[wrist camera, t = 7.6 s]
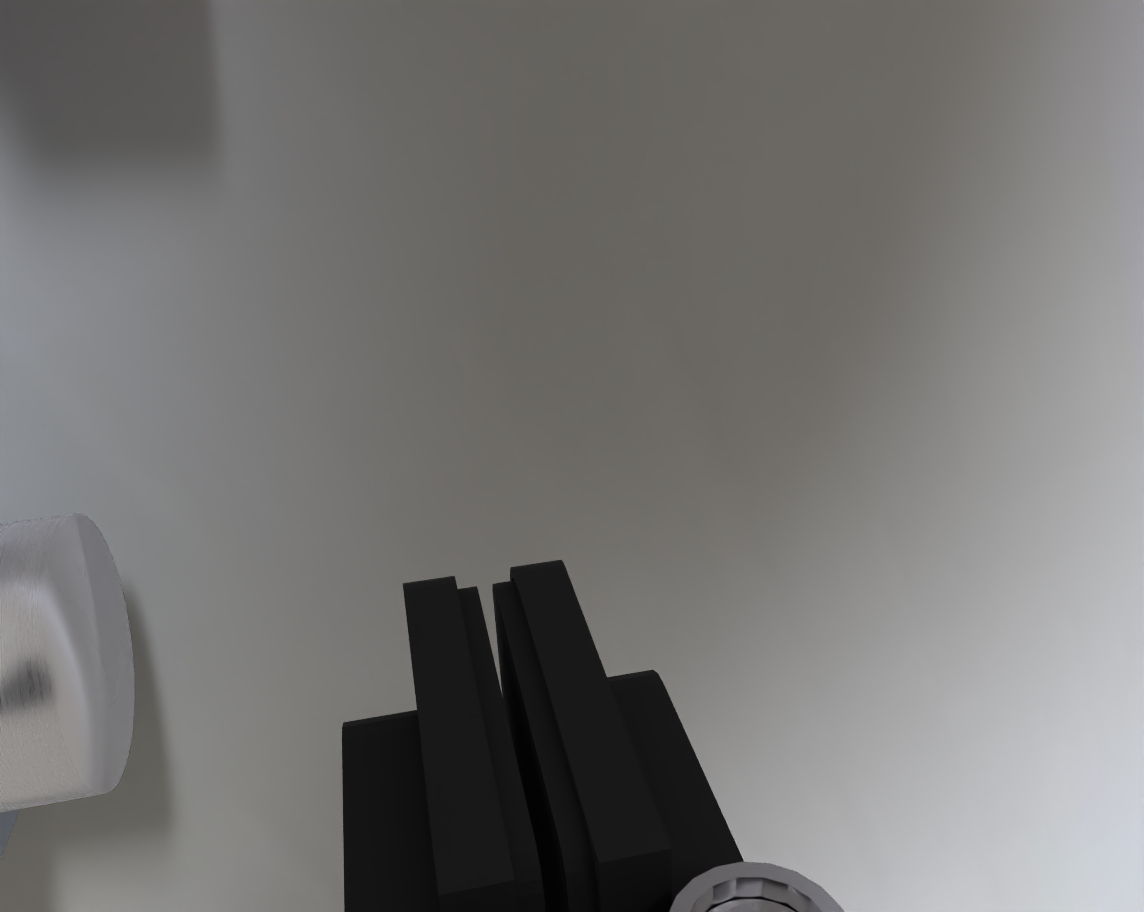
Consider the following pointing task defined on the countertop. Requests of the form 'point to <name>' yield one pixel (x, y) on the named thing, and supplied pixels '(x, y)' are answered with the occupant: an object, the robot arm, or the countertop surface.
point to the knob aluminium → (62, 664)
